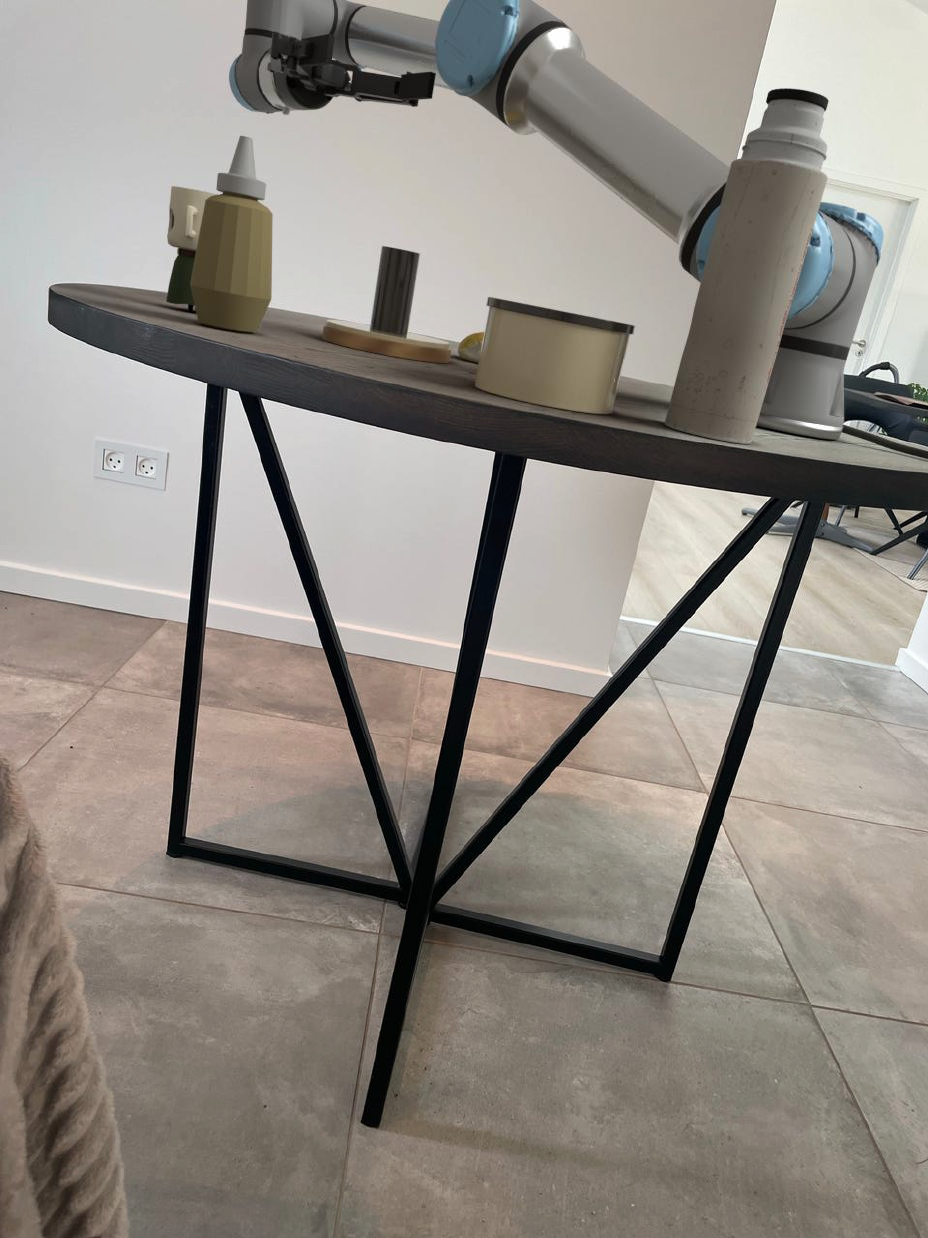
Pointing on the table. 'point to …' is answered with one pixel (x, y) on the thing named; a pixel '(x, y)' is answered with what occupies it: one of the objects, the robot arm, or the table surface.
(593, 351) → the pot
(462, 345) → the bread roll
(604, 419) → the table surface
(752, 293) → the thermos bottle
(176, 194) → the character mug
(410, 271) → the lid
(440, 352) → the trivet
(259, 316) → the squeeze bottle
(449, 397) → the table surface
